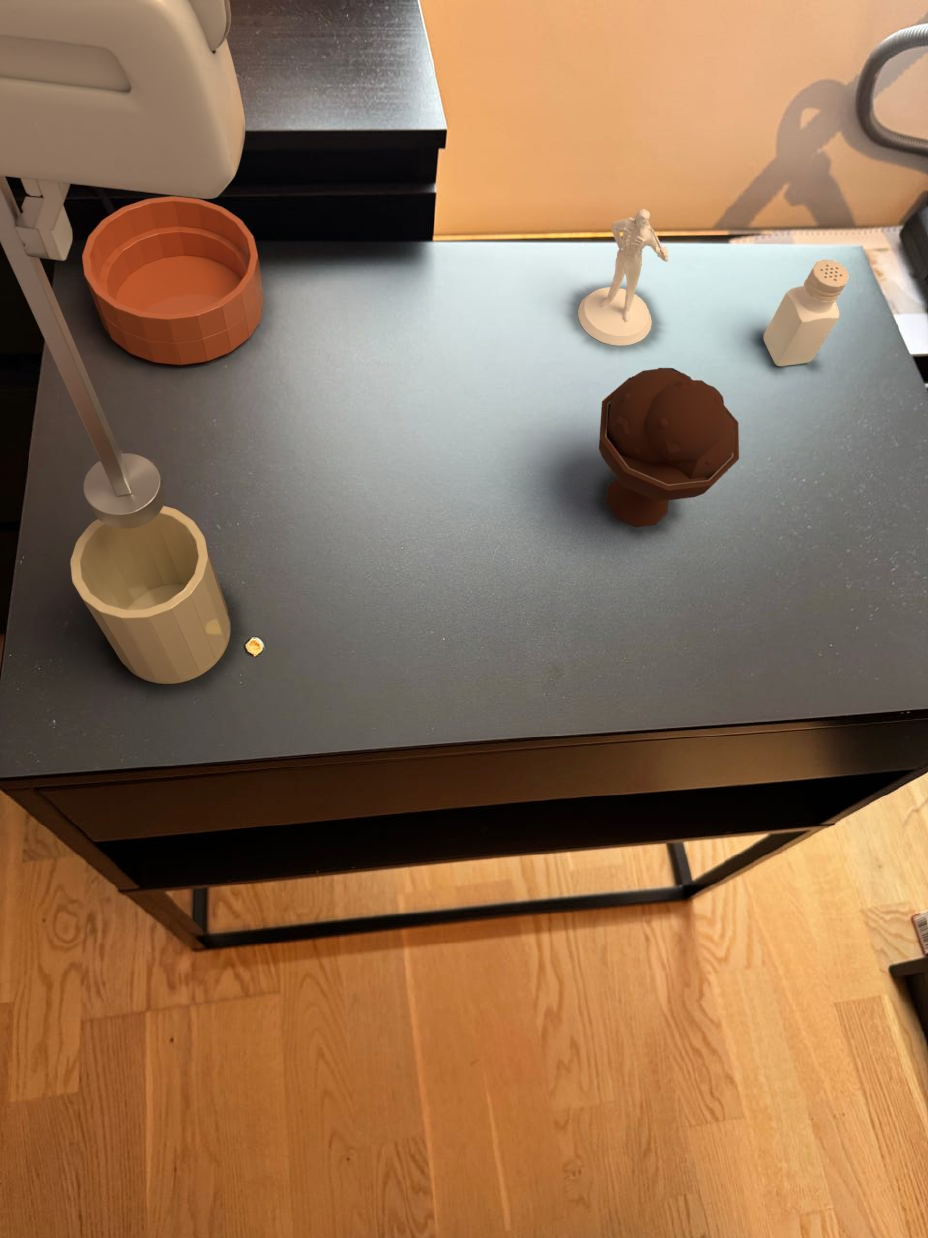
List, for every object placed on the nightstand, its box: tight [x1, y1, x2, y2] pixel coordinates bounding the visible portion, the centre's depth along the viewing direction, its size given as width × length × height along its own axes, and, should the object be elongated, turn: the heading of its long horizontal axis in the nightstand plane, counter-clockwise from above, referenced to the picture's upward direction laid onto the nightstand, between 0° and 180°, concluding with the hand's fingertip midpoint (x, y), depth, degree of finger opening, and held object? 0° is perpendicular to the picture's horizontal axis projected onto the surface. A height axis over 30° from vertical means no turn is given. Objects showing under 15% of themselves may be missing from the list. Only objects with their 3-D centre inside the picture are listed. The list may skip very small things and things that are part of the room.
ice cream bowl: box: [598, 367, 740, 528], centre depth 70 cm, size 11×11×15 cm
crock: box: [69, 505, 232, 685], centre depth 63 cm, size 8×8×11 cm
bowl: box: [81, 195, 265, 366], centre depth 79 cm, size 14×14×6 cm
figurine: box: [577, 208, 669, 347], centre depth 81 cm, size 7×7×12 cm
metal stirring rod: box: [0, 176, 167, 529], centre depth 45 cm, size 4×4×24 cm
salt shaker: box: [763, 259, 850, 367], centre depth 82 cm, size 4×4×10 cm
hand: (17, 244), depth 38 cm, fingers closed on metal stirring rod
